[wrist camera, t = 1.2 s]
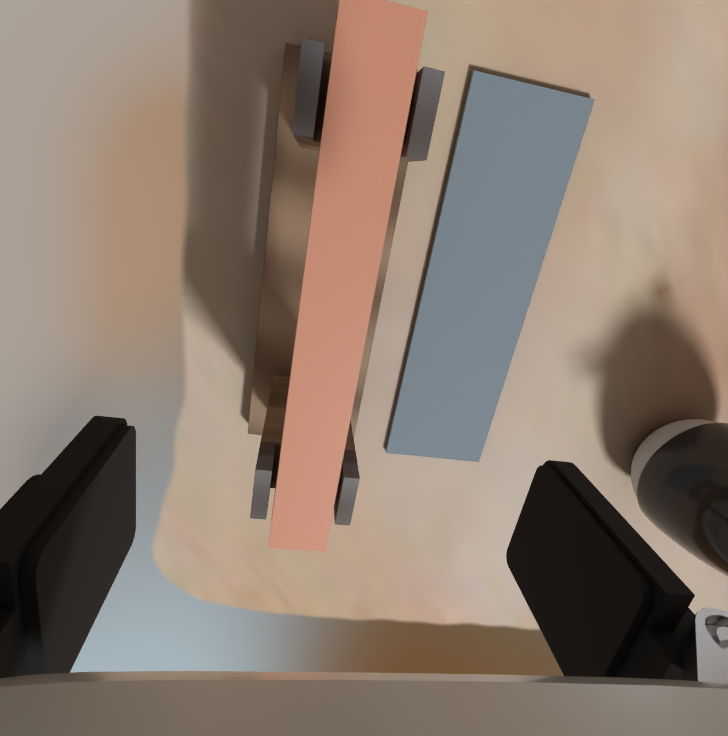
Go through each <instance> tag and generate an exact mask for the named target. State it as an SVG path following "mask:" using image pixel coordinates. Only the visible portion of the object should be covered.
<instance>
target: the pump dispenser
mask: <svg viewBox="0 0 728 736" xmlns="http://www.w3.org/2000/svg"><path fill="white" fill-rule="evenodd" d="M631 481H632V485H633V489H634V491H635V494H636V496H637V500H638V504H639V506H640V508H641V510H642V512H643V513H644V514H645V516H646V517H647V518H648V519H649V520H650V521H651V522H652V523H653V524H654V525H655V526H656V527H657V528H658V529H660V530H661V531H662V532H663V533H664V534H666V535H667V536H668V537H669V538H671V539H672V540H673V541H675V542H676V543H677V544H678V545H680V546H681V547H682V548H684V549H685V550H686V551H688V552H689V553H691V554H692V555H694V556H695V557H697V558H698V559H700V560H701V561H703V562H704V563H706V564H707V565H709V566H711V567H712V568H714V569H716V570H717V571H719V572H721V573H723V574H724V575H726V576H728V423H718V422H714V421H710V420H702V419H687V420H680V421H676V422H673V423H670V424H667V425H665V426H663V427H661V428H659V429H657V430H656V431H654V432H653V433H651V434H650V435H649V436H648V437H647V438H646V439H645V440H644V441H643V442H642V443H641V445H640V446H639V448H638V449H637V451H636V453H635V455H634V458H633V461H632V466H631Z"/></svg>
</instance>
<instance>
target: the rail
mask: <svg viewBox="0 0 728 736" xmlns="http://www.w3.org/2000/svg"><path fill="white" fill-rule="evenodd" d="M427 14H428V11H425V10H421V9H417V8H413V7H409V6H405V5H401V4H398V3H394V2H390V1H386V0H339V5H338V11H337V18H336V26H335V33H334V41H333V49H332V57H331V64H330V72H329V80H328V87H327V95H326V103H325V111H324V118H323V126H322V134H321V141H320V149H319V157H318V165H317V172H316V180H315V188H314V195H313V203H312V211H311V219H310V226H309V234H308V242H307V249H306V257H305V265H304V273H303V280H302V288H301V296H300V303H299V311H298V319H297V327H296V334H295V342H294V350H293V357H292V365H291V373H290V381H289V388H288V396H287V404H286V411H285V419H284V427H283V435H282V442H281V450H280V458H279V465H278V473H277V481H276V489H275V496H274V504H273V512H272V520H271V529H270V537H269V546H268V548H280V549H296V550H312V551H326V545H327V540H328V535H329V530H330V524H331V519H332V514H333V509H334V503H335V498H336V493H337V487H338V482H339V477H340V472H341V466H342V461H343V456H344V451H345V445H346V440H347V435H348V430H349V424H350V419H351V414H352V408H353V403H354V398H355V393H356V387H357V382H358V377H359V372H360V366H361V361H362V356H363V351H364V345H365V340H366V335H367V330H368V324H369V319H370V314H371V308H372V303H373V298H374V293H375V287H376V282H377V277H378V272H379V266H380V261H381V256H382V251H383V245H384V240H385V235H386V229H387V224H388V219H389V214H390V208H391V203H392V198H393V193H394V187H395V182H396V177H397V172H398V166H399V161H400V156H401V150H402V145H403V140H404V135H405V129H406V124H407V119H408V114H409V108H410V103H411V98H412V93H413V87H414V82H415V77H416V71H417V66H418V61H419V56H420V50H421V45H422V40H423V35H424V29H425V24H426V19H427Z"/></svg>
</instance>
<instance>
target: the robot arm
mask: <svg viewBox="0 0 728 736" xmlns="http://www.w3.org/2000/svg"><path fill="white" fill-rule="evenodd" d="M135 529H136V431H135V428H134V426H127V422H126V420H125V419H124V418H114V417H104V416H94V417H93V418H92V419H91V420H90V421H89V423H87V425H86V426H85V427H84V428H83V429H82V430H81V431H80V432H79V434H78V435H77V436H76V437H75V438H74V439H73V440H72V441H71V442H70V443H69V444H68V446H67V447H66V448H65V449H64V450H63V451H62V452H61V453H60V454H59V456H58V457H57V458H56V459H55V460H54V461H53V462H52V464H51V465H49V467H48V468H47V469H46V470H45V471H44V472H43V473H42V474H41V475H35V476H32V477H31V478H30V479H29V480H27V481H26V482H25V483H24V484H23V485H22V487H21V488H20V489H19V490H18V491H17V492H16V493H15V494H14V495H13V496H12V497H11V498H10V499H9V500H8V502H7V503H6V504H5V505H4V506H3V507H2V508H1V509H0V736H728V612H726V611H723V610H719V609H714V608H703V609H701V610H700V611H698V612H697V613H696V615H694V613H693V612H692V611H691V610H690V609H689V608H688V606H689V605H690V603H691V601H692V599H693V598H694V596H695V595H694V594H693V593H692V592H691V590H690V589H689V588H688V587H687V586H686V585H685V584H684V583H683V582H682V581H681V580H680V579H679V577H678V576H677V575H676V574H675V573H674V572H673V571H672V570H671V569H670V568H669V567H668V565H667V564H666V563H665V562H664V561H663V560H662V559H661V558H660V557H659V556H658V555H657V554H656V552H655V551H654V550H653V549H652V548H651V547H650V546H649V545H648V544H647V543H646V542H645V541H644V539H643V538H642V537H641V536H640V535H639V534H638V533H637V532H636V531H635V530H634V529H633V528H632V526H631V525H630V524H629V523H628V522H627V521H626V520H625V519H624V518H623V517H622V516H621V514H620V513H619V512H618V511H617V510H616V509H615V508H614V507H613V506H612V505H611V504H610V503H609V501H608V500H607V499H606V498H605V497H604V496H603V495H602V494H601V493H600V492H599V491H598V490H597V488H596V487H595V486H594V485H593V484H592V483H591V482H590V481H589V480H588V479H587V478H586V477H585V475H584V474H583V473H582V472H581V471H580V470H579V469H578V468H577V467H576V466H575V465H574V464H573V463H570V462H561V461H551V460H549V461H546V462H545V463H544V464H543V466H539V467H538V468H537V470H536V472H535V475H534V478H533V481H532V483H531V486H530V489H529V492H528V494H527V497H526V500H525V503H524V505H523V508H522V511H521V513H520V516H519V519H518V522H517V524H516V527H515V530H514V533H513V535H512V538H511V541H510V544H509V546H508V549H507V555H506V557H507V564H508V566H509V568H510V570H511V572H512V574H513V576H514V578H515V580H516V582H517V584H518V586H519V588H520V590H521V592H522V594H523V596H524V598H525V600H526V602H527V604H528V606H529V608H530V610H531V612H532V614H533V615H534V617H535V619H536V621H537V623H538V625H539V627H540V629H541V631H542V633H543V635H544V637H545V639H546V641H547V643H548V645H549V647H550V649H551V651H552V653H553V655H554V657H555V659H556V660H557V662H558V664H559V666H560V668H561V670H562V672H563V674H564V676H530V675H479V674H478V675H477V674H416V673H415V674H414V673H344V672H337V673H336V672H233V671H232V672H231V671H229V672H228V671H154V672H153V671H148V672H146V671H144V672H78V673H77V672H76V673H70V671H71V669H72V666H73V664H74V662H75V660H76V658H77V656H78V654H79V652H80V650H81V648H82V646H83V644H84V642H85V640H86V638H87V636H88V633H89V631H90V629H91V627H92V625H93V623H94V621H95V619H96V617H97V615H98V613H99V611H100V609H101V607H102V605H103V603H104V600H105V599H106V596H107V594H108V592H109V590H110V588H111V586H112V584H113V582H114V580H115V578H116V576H117V574H118V572H119V569H120V568H121V566H122V564H123V561H124V559H125V557H126V555H127V553H128V551H129V549H130V547H131V545H132V542H133V539H134V535H135Z"/></svg>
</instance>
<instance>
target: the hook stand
mask: <svg viewBox="0 0 728 736" xmlns="http://www.w3.org/2000/svg"><path fill="white" fill-rule="evenodd" d="M324 49H325V43H323V42H319V41H315V40H311V39H306V38H302V44H301V46H297V45H293V44H288V43H286V45H285V55H284V65H283V76H282V86H281V96H280V106H279V117H278V127H277V137H276V148H275V158H274V168H273V178H272V189H271V199H270V209H269V219H268V230H267V240H266V250H265V261H264V271H263V281H262V291H261V302H260V312H259V322H258V333H257V343H256V353H255V363H254V374H253V384H252V394H251V404H250V415H249V425H248V434H257V435H262V438H261V443H260V448H259V454H258V459H257V464H256V469H255V478H254V488H253V497H252V506H251V515H250V518H254V519H266V515H267V508H268V501H269V493H270V488H276V481H277V473H278V465H279V458H280V450H281V442H282V435H283V427H284V419H285V411H286V404H287V396H288V388H289V381H290V373H291V365H292V357H293V350H294V342H295V334H296V327H297V319H298V311H299V303H300V296H301V288H302V280H303V273H304V265H305V257H306V249H307V242H308V234H309V226H310V219H311V211H312V203H313V195H314V188H315V180H316V172H317V165H318V157H319V149H320V141H321V134H322V126H323V118H324V111H325V103H326V95H327V87H328V80H329V72H330V64H331V57H332V54H331V53H327V52H324ZM444 74H445V71H441V70H436V69H432V68H428V67H423V68H422V69H421V70H420V71H419V72H417V73H416V77H415V82H414V87H413V93H412V98H411V103H410V108H409V114H408V119H407V124H406V129H405V135H404V140H403V145H402V150H401V156H400V161H399V166H398V172H397V177H396V182H395V187H394V193H393V198H392V203H391V208H390V214H389V219H388V224H387V229H386V235H385V240H384V245H383V251H382V256H381V261H380V266H379V272H378V277H377V282H376V287H375V293H374V298H373V303H372V308H371V314H370V319H369V324H368V330H367V335H366V340H365V345H364V351H363V356H362V361H361V366H360V372H359V377H358V382H357V387H356V393H355V398H354V403H353V408H352V414H351V419H350V424H349V430H348V435H347V440H346V445H345V451H344V456H343V461H342V466H341V472H340V477H339V482H338V487H337V493H336V498H335V503H334V517H335V524H339V525H350V522H351V517H352V513H353V508H354V503H355V498H356V494H357V489H358V484H359V479H360V478H359V471H358V465H357V458H356V452H355V445H354V434H355V429H356V424H357V419H358V414H359V409H360V404H361V399H362V394H363V389H364V384H365V378H366V373H367V368H368V363H369V358H370V353H371V348H372V343H373V338H374V333H375V328H376V322H377V317H378V312H379V307H380V302H381V297H382V292H383V287H384V282H385V277H386V271H387V266H388V261H389V256H390V251H391V246H392V241H393V236H394V231H395V226H396V221H397V215H398V210H399V205H400V200H401V195H402V190H403V185H404V180H405V175H406V170H407V165H408V162H412V161H424V160H427V155H428V150H429V145H430V141H431V136H432V131H433V126H434V121H435V117H436V112H437V107H438V102H439V98H440V93H441V88H442V83H443V79H444Z"/></svg>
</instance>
